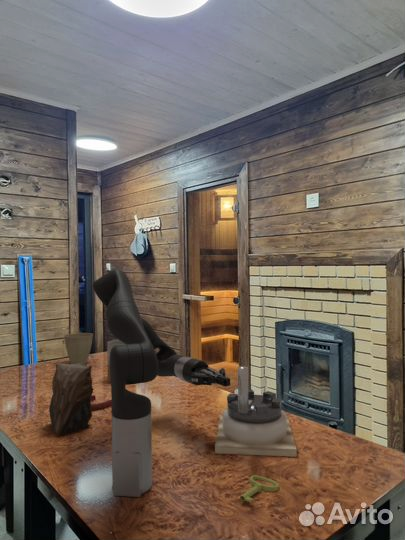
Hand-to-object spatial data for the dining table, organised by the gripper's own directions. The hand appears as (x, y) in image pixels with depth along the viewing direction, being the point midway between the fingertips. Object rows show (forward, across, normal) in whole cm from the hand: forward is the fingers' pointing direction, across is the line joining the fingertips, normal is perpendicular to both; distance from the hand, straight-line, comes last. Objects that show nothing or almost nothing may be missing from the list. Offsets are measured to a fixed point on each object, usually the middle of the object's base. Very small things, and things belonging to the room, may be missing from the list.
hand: (228, 382), depth 110 cm
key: (+19, -8, +20) cm, 29 cm away
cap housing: (-1, +11, +17) cm, 20 cm away
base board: (-1, +11, +19) cm, 22 cm away
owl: (-45, -30, +19) cm, 57 cm away
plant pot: (-126, +5, +20) cm, 127 cm away
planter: (-82, +9, +19) cm, 85 cm away
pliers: (-59, -19, +20) cm, 65 cm away
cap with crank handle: (-1, +9, +11) cm, 15 cm away
